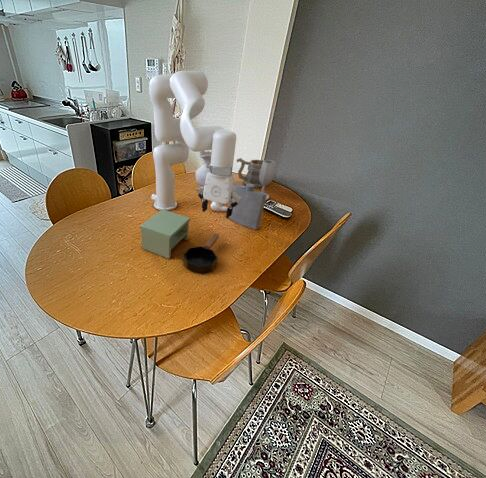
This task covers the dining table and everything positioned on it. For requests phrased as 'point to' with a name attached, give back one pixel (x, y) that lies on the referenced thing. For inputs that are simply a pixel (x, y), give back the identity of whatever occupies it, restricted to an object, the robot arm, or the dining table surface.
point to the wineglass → (266, 174)
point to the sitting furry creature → (218, 207)
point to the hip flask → (248, 206)
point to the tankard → (251, 172)
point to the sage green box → (164, 232)
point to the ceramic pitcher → (203, 168)
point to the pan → (201, 257)
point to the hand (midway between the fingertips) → (216, 213)
